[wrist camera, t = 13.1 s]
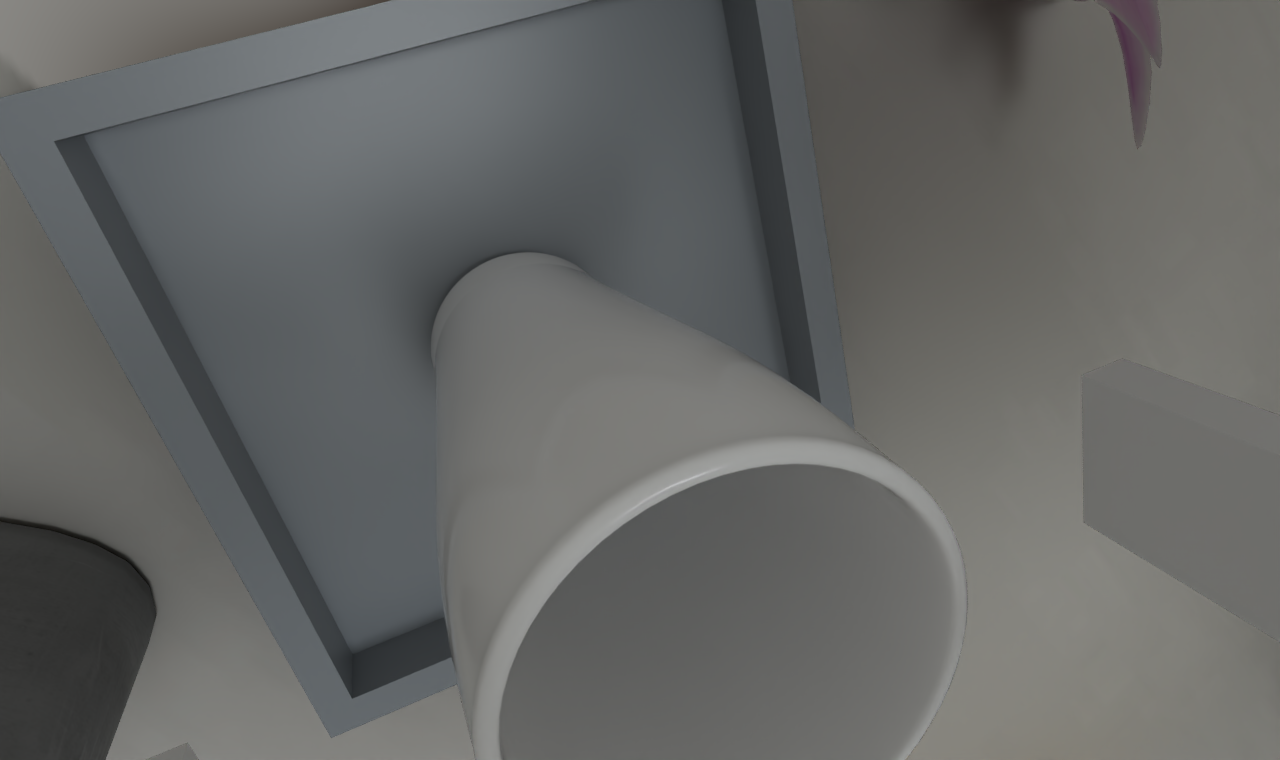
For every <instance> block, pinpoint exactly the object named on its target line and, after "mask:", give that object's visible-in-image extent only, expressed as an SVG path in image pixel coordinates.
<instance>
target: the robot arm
mask: <svg viewBox="0 0 1280 760" xmlns="http://www.w3.org/2000/svg"><path fill="white" fill-rule="evenodd" d="M1082 438H1083V517H1084V523H1085V524H1087V525H1088V526H1090V527H1092V528H1093V529H1095V530H1097V531H1098V532H1100V533H1102V534H1103V535H1105V536H1106V537H1108V538H1110V539H1111V540H1113V541H1115V542H1116V543H1118V544H1120V545H1121V546H1123V547H1125V548H1126V549H1128V550H1129V551H1131V552H1133V553H1134V554H1136V555H1138V556H1139V557H1141V558H1143V559H1144V560H1146V561H1148V562H1149V563H1151V564H1152V565H1154V566H1156V567H1157V568H1159V569H1161V570H1162V571H1164V572H1166V573H1167V574H1169V575H1170V576H1172V577H1174V578H1175V579H1177V580H1179V581H1180V582H1182V583H1184V584H1185V585H1187V586H1189V587H1190V588H1192V589H1193V590H1195V591H1197V592H1198V593H1200V594H1202V595H1203V596H1205V597H1207V598H1208V599H1210V600H1212V601H1213V602H1215V603H1216V604H1218V605H1220V606H1221V607H1223V608H1225V609H1226V610H1228V611H1230V612H1231V613H1233V614H1234V615H1236V616H1238V617H1239V618H1241V619H1243V620H1244V621H1246V622H1248V623H1249V624H1251V625H1253V626H1254V627H1256V628H1257V629H1259V630H1261V631H1262V632H1264V633H1266V634H1267V635H1269V636H1271V637H1272V638H1274V639H1276V640H1277V641H1279V642H1280V415H1278V414H1275V413H1272V412H1270V411H1267V410H1264V409H1261V408H1259V407H1256V406H1253V405H1250V404H1247V403H1245V402H1242V401H1239V400H1236V399H1234V398H1231V397H1228V396H1225V395H1223V394H1220V393H1217V392H1214V391H1211V390H1209V389H1206V388H1203V387H1200V386H1198V385H1195V384H1192V383H1189V382H1187V381H1184V380H1181V379H1178V378H1175V377H1173V376H1170V375H1167V374H1164V373H1162V372H1159V371H1156V370H1153V369H1151V368H1148V367H1145V366H1142V365H1140V364H1137V363H1134V362H1131V361H1128V360H1126V359H1123V358H1122V359H1120V360H1117V361H1115V362H1112V363H1110V364H1107V365H1105V366H1103V367H1100V368H1098V369H1095V370H1093V371H1090V372H1088V373H1086V374H1083V375H1082ZM146 760H199V759H198V757H197V756H196V754H195V753H194V751H193V750H192V749H191V747H190V746H189V744H188V743H185V744H183V745H180V746H178V747H176V748H173V749H171V750H168V751H166V752H163V753H161V754H159V755H156V756H154V757H151V758H149V759H146Z"/></svg>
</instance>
